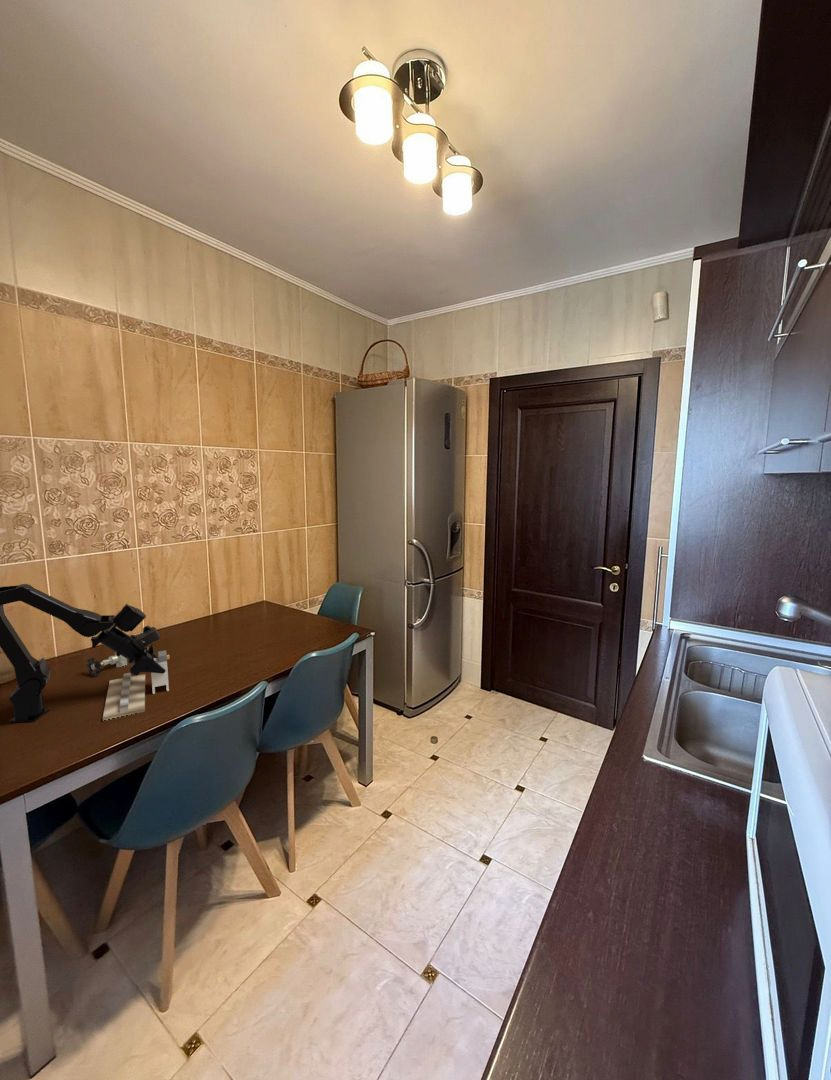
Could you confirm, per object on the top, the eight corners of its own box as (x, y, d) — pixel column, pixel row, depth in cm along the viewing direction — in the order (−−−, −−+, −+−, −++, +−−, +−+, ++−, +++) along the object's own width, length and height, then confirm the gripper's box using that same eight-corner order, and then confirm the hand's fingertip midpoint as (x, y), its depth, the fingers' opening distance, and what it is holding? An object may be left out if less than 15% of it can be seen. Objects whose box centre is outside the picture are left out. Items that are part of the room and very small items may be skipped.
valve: (121, 661, 163) (86, 674, 152) (120, 644, 162) (84, 656, 151) (133, 664, 160) (98, 678, 149) (132, 647, 159) (96, 660, 148)
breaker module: (171, 690, 142) (169, 654, 140) (152, 694, 139) (150, 658, 137) (171, 684, 145) (168, 649, 144) (152, 688, 143) (150, 653, 141)
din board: (144, 711, 129) (144, 702, 128) (103, 721, 124) (102, 711, 123) (145, 676, 151) (144, 668, 150) (110, 683, 146) (109, 675, 145)
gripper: (140, 631, 129) (185, 659, 136) (141, 613, 144) (181, 639, 152) (110, 662, 126) (157, 689, 133) (114, 640, 141) (156, 666, 149)
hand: (164, 669), depth 142 cm, fingers closed on breaker module, 4 cm apart
